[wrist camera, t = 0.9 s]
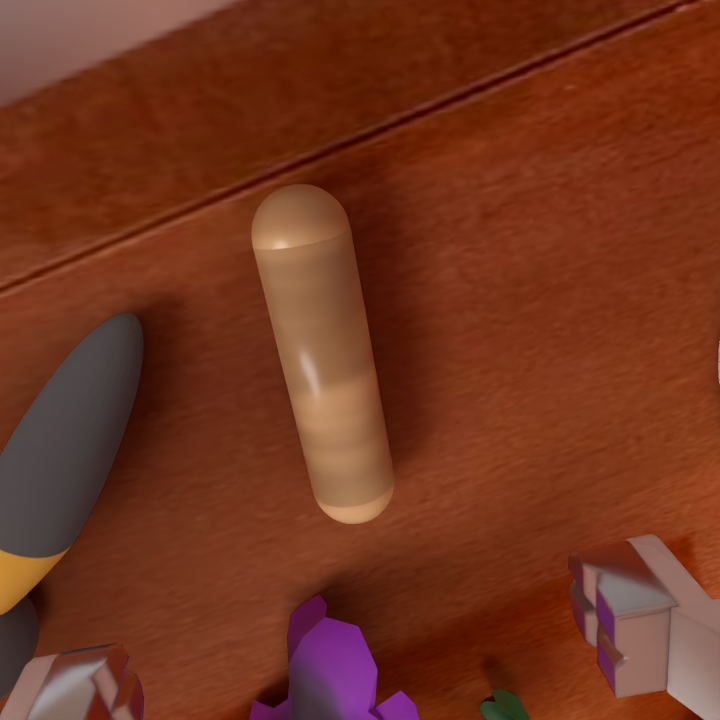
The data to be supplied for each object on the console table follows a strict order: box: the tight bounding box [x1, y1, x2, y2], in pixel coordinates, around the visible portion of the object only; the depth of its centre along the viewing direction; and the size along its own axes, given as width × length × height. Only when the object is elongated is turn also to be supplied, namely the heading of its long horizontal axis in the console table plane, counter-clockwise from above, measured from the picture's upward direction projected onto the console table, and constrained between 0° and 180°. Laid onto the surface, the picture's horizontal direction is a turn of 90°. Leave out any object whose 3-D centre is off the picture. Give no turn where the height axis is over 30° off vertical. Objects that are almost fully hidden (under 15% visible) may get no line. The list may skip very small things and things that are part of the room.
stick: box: [251, 184, 395, 524], centre depth 21 cm, size 13×3×3 cm, turn 10°
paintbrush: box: [0, 313, 144, 700], centre depth 21 cm, size 20×5×5 cm, turn 153°
